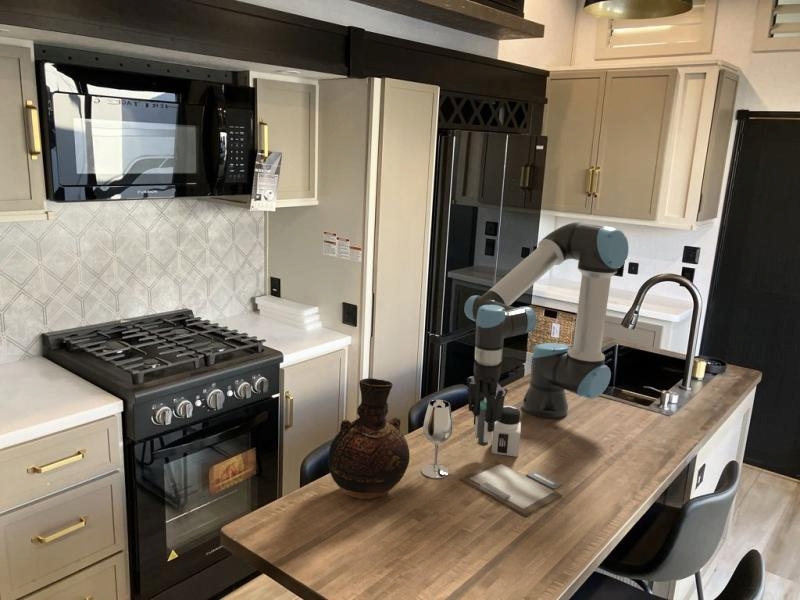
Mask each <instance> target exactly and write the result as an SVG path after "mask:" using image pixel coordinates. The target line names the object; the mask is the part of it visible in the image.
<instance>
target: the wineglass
mask: <svg viewBox="0 0 800 600" xmlns="http://www.w3.org/2000/svg"><path fill="white" fill-rule="evenodd" d="M451 409H452V408H451V404H450V402H448V401H447V400H444V399H433V400H430V401H429V403H428V406H427V409H426V413H425V415H424V421H423V428H422V429H423V434H424V436H425V438H426V440H428V441H429V442H430V443H432V444H434V462H433V463H428V464H425V465H424V466H422V467H421V470H420V472H421V474H423V475H424V476H425V477H428V478H431V479H444V478H446V477H447V476H448V475H449V474H450V472H449V469H448V468H447V467H446V466H444V465H442V464H438V453H439V451H438V450H439V446H440V445H441V444H444V443H446V442H447V441H448V440H449V439H450V438H451V436H452V434H453V416H452V410H451Z"/></svg>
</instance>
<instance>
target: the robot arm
mask: <svg viewBox="0 0 800 600" xmlns="http://www.w3.org/2000/svg"><path fill="white" fill-rule="evenodd" d="M537 244H538V246H537V248H535V249H534V250H533V251H532V252H531V253H530V254H529V255H528V256H526V257H525V258H524V259H523V260H522V261H520V263H518V264H517V265H516V266H515V267H513V268H512V269H511V271H509V272H508V273H507V274H506V275H504V277H503V278H501V279H500V280H499V281H498V282H497V283H496V284H495V285H493V286H492V287H491V288H490V289H489V290H487V292H485V293H484V294H482V295H477V294H476V295H475V294H474V295H471V296H470V297H468V299H467V300H466V301H465V303H464V314H465V316H466V317H467V318H468V319H470V320H471V321H474V322H475V326H476V327H475V347H474V362H473V374H474V375H472V376H469V377H466V384H467V398H468V399H467V400H468V402H467V403H468V411H469V412H472V415H473V425H474V438H475V439H478V434H479V417H480V400H483V399H486V406H487V420H485V424H484V439H483V442H485V443H486V442H491V441H492V440H493V431H494V425H495V422H496V421H498V420H501V417H502V411H503V406H505V405H504V404H505V399H506V398H505V397H506V395H507V394H508V389H507V388H503V387H502V386H501V382H500V377H501V376H502V375H501V374H502V366H503V365H502V364H503V363H502V361H503V352H504V351H503V350H504V339H506V338H507V339H508V338H511V337H516V336H520V335H525V334H529V333H530V332H532V331H534V330H535V329H536V327H537V323H538V321H537V320H538V318H537V314H536V312H535V311H534V310H533V308H531V307H529V306H519V307H514V306H511V305H512V304H513V303H514V302H515V301H517V299H518V298H520V297H521V296H522V295H523V294H524V293H525V292H526V291H528V290H529V289H530V287H532V286H533V285H534V284H535V283H536V282H537V281H539V280H540V279H542V277H543V276H544V275H545V274H546V273H547V272H549V270H551V269H552V268H553V267H554V266H559V265H561V264H563V262H564V261H567V260H575V261H577V263H578V264H577V270H579V272H580V273H581V278H580V279H581V281H580V289H579V296H578V303H577V304H578V305H577V312H576V320H575V326H574V327H575V328H574V336H573V345H572V347H571V348H570V346H569V345H567V344H565V343H558V342H546V343H540V344H537V345H535V346H534V348H533V350H532V351H533V353H532V356H531V369H530V378H529V379H530V381H529V387H528V389H527V390H526V393H525V395H524V397H523V400H522V406H521V407H522V409H523V410H524V411H525V412H526V413H527V414H530V415H532V416H535V417H537V418H544V419H560V418H563V417H565V416H567V415H568V413H569V411H568V410H569V404H568V399H567V396H566V392H565V391H569V392H570V393H573V394H574V395H577V396H578V397H583V398H585V399H588V400H593V399H596V398H598V397H599V396H601V395H602V394H603V393H604V392H605V390H606V389H607V387H608V386H609V384H610V381H611V377H612V376H611V375H612V372H611V369H610V367H608V365H605V360H606V356H605V354H604V353H603V352H602V347H603V346H602V345H603V339H604V338H603V337H604V331H605V322H606V316H607V308H608V303H609V302H608V300H609V295H610V287H611V280H612V277H613V276H614V275H616V274H617V273H618V269H619V268H621V267H623V266H624V264H625V263H626V261H627V260H628V259H627V258H628V256H629V242H628V238H627V237H626V234H624V232H623V231H622V230H620V229H618V228H616V227H615V228H614V227H611V226H607V225H600V224H592V223H585V222H581V221H579V222H576V221H575V222H571V223H568V224H564V225H562V226H560V227H558V228H556V229H555V230H553V231H551V232H550V233H548V234H547V235H546V236H544V237H543V238H542V239H541V240H540V241H539V242H538V243H537Z"/></svg>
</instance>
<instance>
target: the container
mask: <svg viewBox="0 0 800 600" xmlns="http://www.w3.org/2000/svg"><path fill="white" fill-rule="evenodd" d="M520 417H521V411H520V409H518V408H517V407H514V406H511V405H503V411H502V417H501V420H498V421H496V422H495V425H494V431H492V440H491V441H492V442H491V454H495V455H502V456H510V457H516V458H517V457H519V450H520V441H521V434H522V433H521V428H522V422H521V421H520Z"/></svg>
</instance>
